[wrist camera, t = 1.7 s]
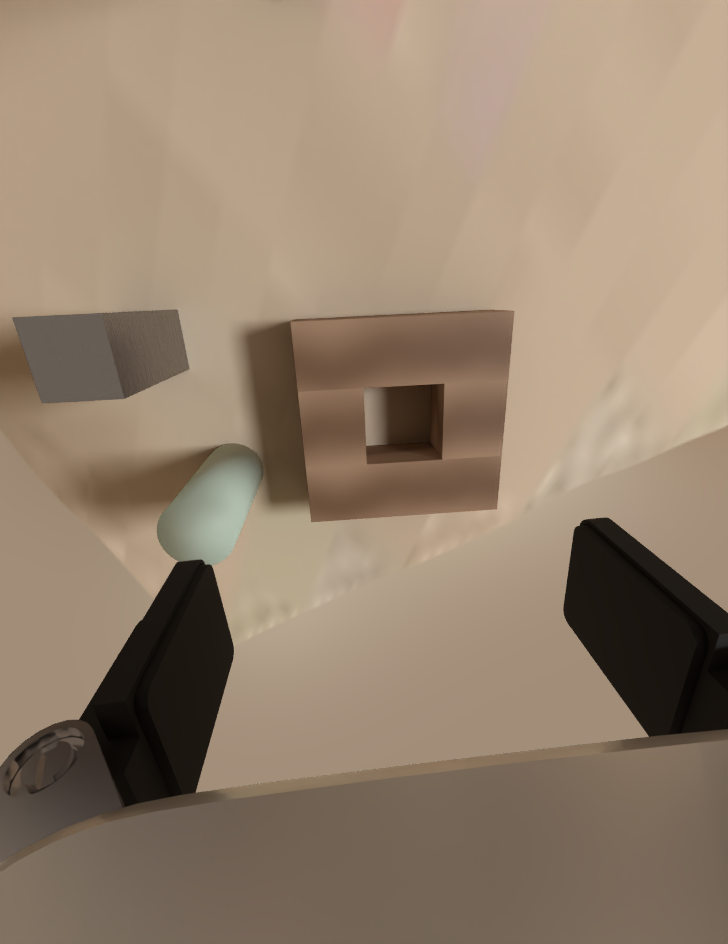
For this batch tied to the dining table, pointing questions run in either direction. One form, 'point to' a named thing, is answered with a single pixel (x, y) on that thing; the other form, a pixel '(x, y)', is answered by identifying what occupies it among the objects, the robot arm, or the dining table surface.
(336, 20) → the dining table surface
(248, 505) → the round peg
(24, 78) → the dining table surface
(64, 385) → the square peg
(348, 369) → the socket block
